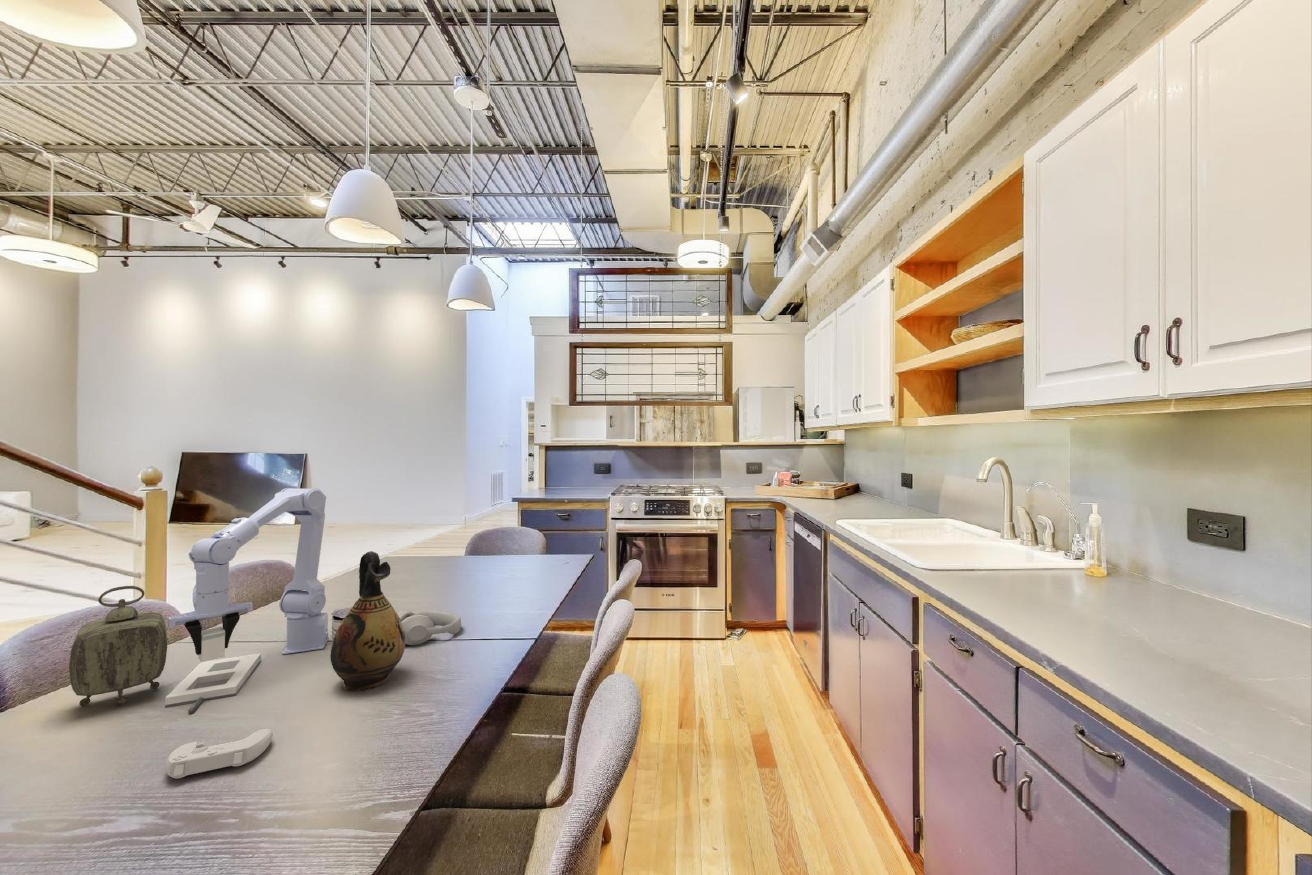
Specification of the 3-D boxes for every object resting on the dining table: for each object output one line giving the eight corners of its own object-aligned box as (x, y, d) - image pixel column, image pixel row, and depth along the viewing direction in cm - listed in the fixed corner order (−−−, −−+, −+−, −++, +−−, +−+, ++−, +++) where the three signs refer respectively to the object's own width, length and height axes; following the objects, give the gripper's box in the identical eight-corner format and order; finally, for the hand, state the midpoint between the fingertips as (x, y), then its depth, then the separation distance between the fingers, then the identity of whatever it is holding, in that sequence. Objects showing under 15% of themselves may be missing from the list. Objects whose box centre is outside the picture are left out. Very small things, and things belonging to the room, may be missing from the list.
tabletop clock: (166, 684, 119) (167, 577, 119) (166, 697, 112) (168, 584, 113) (72, 706, 109) (74, 589, 109) (66, 722, 102) (68, 598, 103)
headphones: (409, 652, 136) (471, 638, 152) (413, 621, 137) (475, 611, 153) (372, 638, 145) (434, 627, 162) (376, 610, 146) (437, 601, 163)
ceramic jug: (415, 680, 121) (416, 553, 121) (342, 704, 109) (343, 564, 110) (389, 659, 132) (389, 544, 133) (320, 679, 121) (321, 553, 121)
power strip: (260, 661, 131) (260, 652, 131) (226, 707, 108) (226, 697, 108) (201, 669, 126) (201, 661, 126) (151, 721, 103) (152, 710, 103)
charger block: (221, 652, 119) (221, 626, 120) (224, 656, 117) (225, 630, 117) (197, 657, 116) (198, 631, 116) (201, 662, 114) (201, 635, 114)
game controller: (277, 721, 97) (262, 737, 88) (275, 746, 96) (260, 765, 87) (180, 739, 91) (153, 757, 83) (177, 766, 90) (149, 788, 82)
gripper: (247, 581, 125) (247, 636, 124) (166, 594, 113) (165, 655, 113) (255, 586, 120) (254, 643, 120) (171, 600, 109) (170, 664, 109)
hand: (211, 650), depth 116 cm, fingers closed on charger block, 4 cm apart
